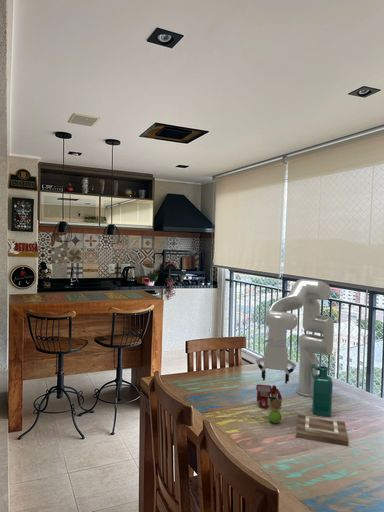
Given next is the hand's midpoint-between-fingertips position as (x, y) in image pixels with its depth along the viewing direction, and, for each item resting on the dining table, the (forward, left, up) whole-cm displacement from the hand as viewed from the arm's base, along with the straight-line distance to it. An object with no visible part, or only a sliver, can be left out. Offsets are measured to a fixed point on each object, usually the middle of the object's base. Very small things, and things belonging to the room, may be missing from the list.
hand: (274, 381), depth 170 cm
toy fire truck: (-17, -4, -19) cm, 26 cm away
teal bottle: (-19, +20, -19) cm, 34 cm away
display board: (+1, +20, -19) cm, 27 cm away
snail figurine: (0, 0, -19) cm, 19 cm away
